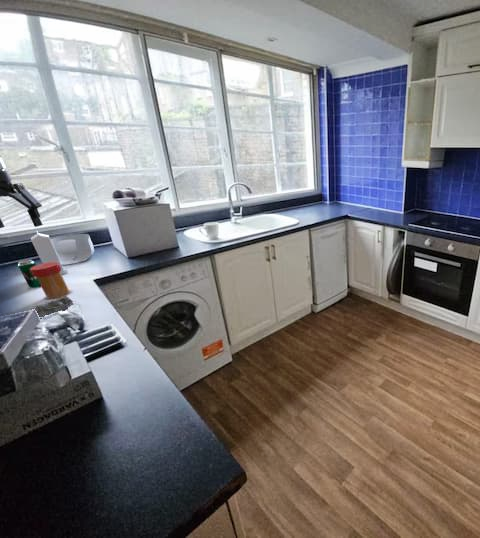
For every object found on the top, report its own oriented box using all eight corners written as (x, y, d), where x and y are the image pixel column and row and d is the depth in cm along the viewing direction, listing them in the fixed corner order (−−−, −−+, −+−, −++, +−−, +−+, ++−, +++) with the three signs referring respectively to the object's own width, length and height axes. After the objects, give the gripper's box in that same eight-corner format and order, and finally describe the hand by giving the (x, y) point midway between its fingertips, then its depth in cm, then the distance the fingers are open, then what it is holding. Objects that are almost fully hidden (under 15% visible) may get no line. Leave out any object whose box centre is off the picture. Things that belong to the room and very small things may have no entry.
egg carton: (38, 321, 105) (32, 311, 104) (33, 315, 109) (28, 305, 108) (76, 308, 113) (72, 298, 112) (70, 302, 117) (66, 293, 116)
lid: (45, 269, 123) (41, 262, 122) (66, 268, 124) (63, 261, 123) (27, 277, 116) (23, 270, 114) (50, 276, 116) (46, 269, 115)
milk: (49, 277, 141) (27, 233, 132) (48, 274, 145) (27, 231, 136) (66, 273, 145) (46, 230, 137) (64, 270, 149) (45, 228, 140)
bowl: (100, 250, 177) (93, 232, 172) (94, 260, 162) (86, 239, 157) (56, 257, 168) (47, 237, 163) (45, 268, 152) (34, 246, 148)
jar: (45, 300, 119) (31, 272, 114) (48, 294, 124) (35, 267, 120) (68, 295, 123) (55, 268, 118) (70, 289, 128) (58, 263, 123)
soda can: (45, 282, 136) (33, 258, 131) (45, 285, 133) (33, 261, 128) (29, 286, 133) (17, 261, 128) (29, 289, 129) (16, 264, 125)
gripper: (-60, 172, 103) (-27, 231, 111) (20, 170, 106) (46, 227, 114) (-36, 171, 110) (-7, 226, 118) (38, 168, 112) (62, 222, 121)
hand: (19, 227), depth 116 cm, fingers open, 13 cm apart
